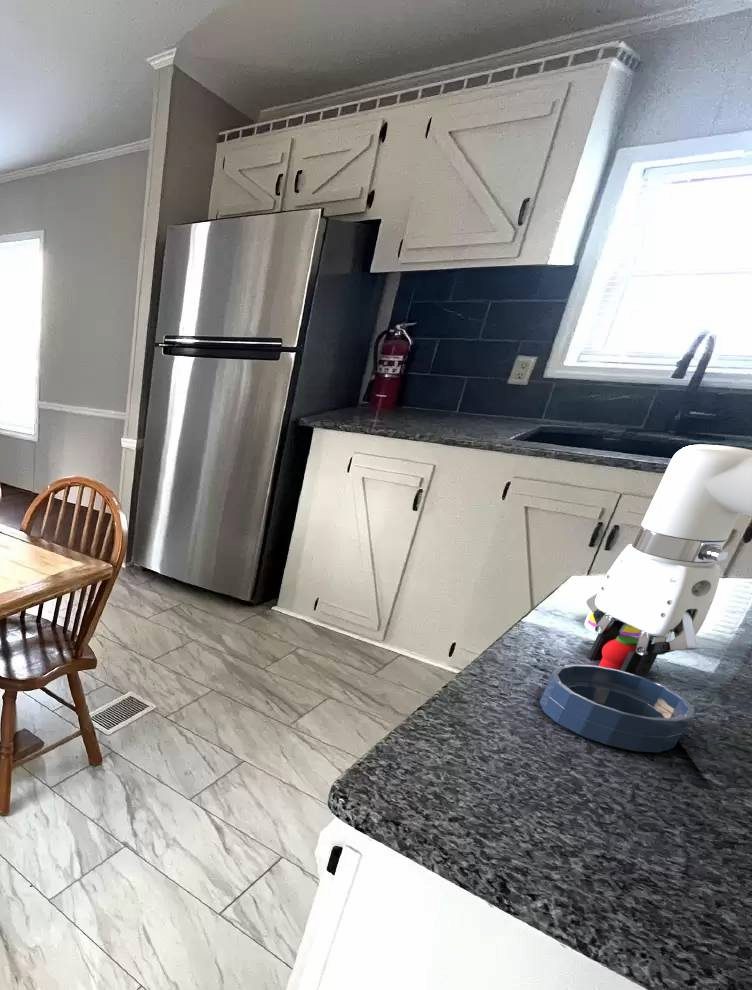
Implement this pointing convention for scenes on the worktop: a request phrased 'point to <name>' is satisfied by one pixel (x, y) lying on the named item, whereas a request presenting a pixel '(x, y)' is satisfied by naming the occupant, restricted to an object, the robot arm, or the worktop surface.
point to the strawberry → (617, 651)
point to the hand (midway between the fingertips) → (615, 667)
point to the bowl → (616, 707)
